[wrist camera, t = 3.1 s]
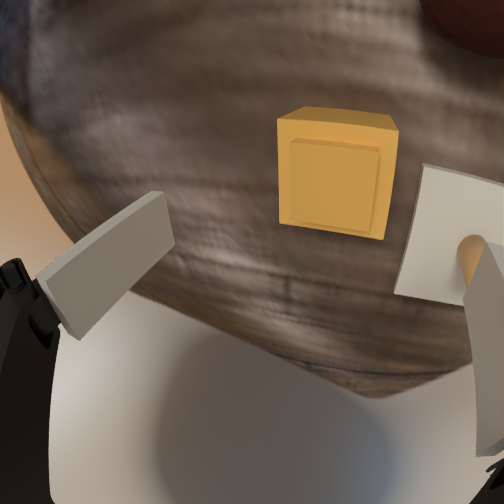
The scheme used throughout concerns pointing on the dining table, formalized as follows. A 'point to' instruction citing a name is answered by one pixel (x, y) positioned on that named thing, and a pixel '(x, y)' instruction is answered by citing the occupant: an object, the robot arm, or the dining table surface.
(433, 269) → the post plate
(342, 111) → the orange block
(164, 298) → the dining table surface
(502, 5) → the potato
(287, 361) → the dining table surface
